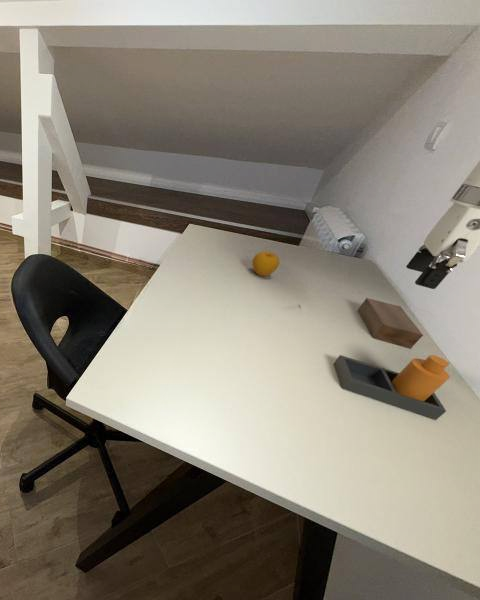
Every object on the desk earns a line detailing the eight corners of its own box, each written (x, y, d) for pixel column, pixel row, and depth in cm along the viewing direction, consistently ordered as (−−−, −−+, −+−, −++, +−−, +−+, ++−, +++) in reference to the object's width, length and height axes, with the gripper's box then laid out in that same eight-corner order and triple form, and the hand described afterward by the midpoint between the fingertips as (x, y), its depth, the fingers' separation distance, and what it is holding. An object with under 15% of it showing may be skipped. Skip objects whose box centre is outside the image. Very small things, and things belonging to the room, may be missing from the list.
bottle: (412, 392, 72) (450, 356, 65) (424, 411, 67) (465, 375, 61) (381, 382, 74) (415, 346, 67) (390, 400, 69) (427, 363, 63)
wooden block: (390, 319, 99) (400, 306, 97) (410, 348, 87) (423, 335, 84) (357, 310, 102) (366, 297, 99) (372, 337, 90) (383, 324, 87)
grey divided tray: (331, 365, 78) (339, 354, 76) (416, 392, 73) (426, 381, 71) (340, 390, 71) (349, 379, 69) (433, 421, 66) (446, 411, 64)
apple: (243, 270, 120) (252, 249, 115) (258, 267, 123) (268, 247, 118) (260, 281, 113) (271, 259, 108) (277, 278, 116) (288, 257, 111)
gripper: (533, 213, 50) (453, 300, 60) (492, 195, 63) (431, 269, 72) (470, 202, 53) (404, 286, 63) (443, 186, 66) (391, 259, 75)
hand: (419, 277), depth 68 cm, fingers open, 9 cm apart
